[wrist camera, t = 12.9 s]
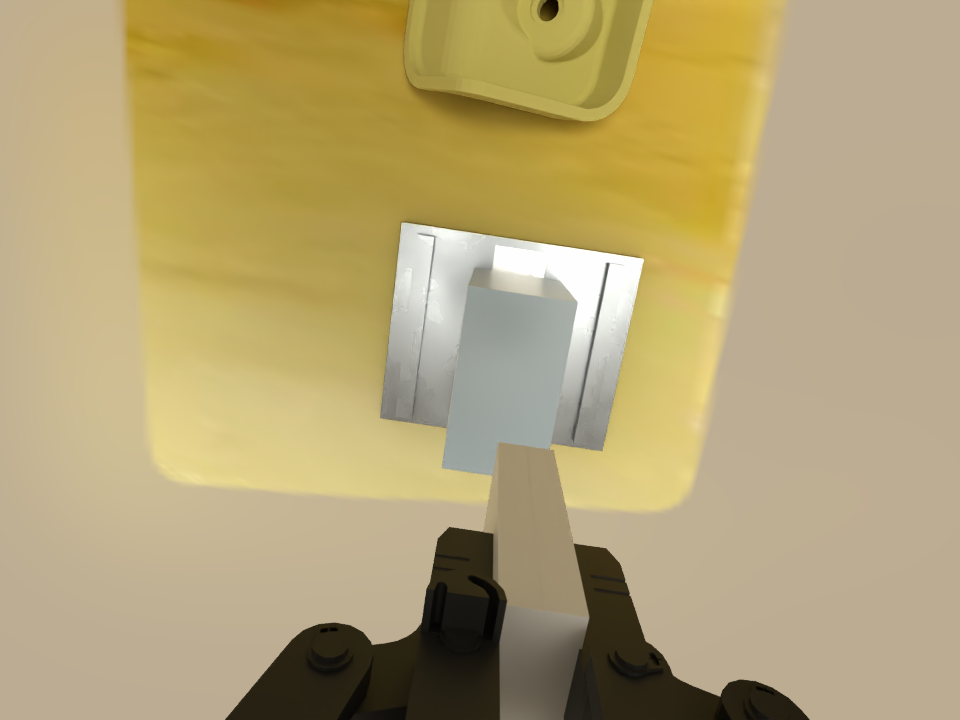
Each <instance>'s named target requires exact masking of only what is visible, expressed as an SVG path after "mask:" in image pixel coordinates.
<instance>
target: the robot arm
mask: <svg viewBox="0 0 960 720" xmlns="http://www.w3.org/2000/svg"><path fill="white" fill-rule="evenodd" d="M629 594H630V593H629V590H628V586H627V584H626V583H625V577H624V574H623V571H622V568H621V565H620V563H619V562H618V561H617V560H616V559H615V558H614V557H613V555H612V554H611V553H610V552H609V551H608V550H607V549H606V548H600V547H593V546H586V545H578V544H574V543H573V539H572V534H571V530H570V525H569V520H568V516H567V511H566V506H565V502H564V497H563V492H562V488H561V483H560V478H559V474H558V469H557V464H556V460H555V455H554V450H549V449H543V448H536V447H529V446H522V445H516V444H509V443H502V442H498V447H497V453H496V459H495V465H494V471H493V477H492V483H491V489H490V495H489V501H488V507H487V513H486V519H485V525H484V531H483V532H479V531H472V530H465V529H459V528H451V527H449V528H448V529H447V530H446V531H445V532H444V533H443V534H442V535H441V536H440V537H439V538H438V541H437V546H436V552H435V558H434V564H433V569H432V575H431V580H430V584H429V585H428V587H427V590H426V597H425V604H424V611H423V618H422V623H421V625H420V626H419V627H418V628H417V630H416V631H414V632H413V633H412V634H411V635H409V636H408V637H405V638H403V639H401V640H398V641H395V642H390V643H385V644H376V645H372V644H371V641H370V640H369V639H368V638H367V636H366V635H365V634H364V633H363V632H362V631H360V630H358V629H356V628H354V627H352V626H350V625H345V624H340V623H326V624H318V625H315V626H313V627H310V628H308V629H305V630H303V631H302V632H301V633H300V634H298V635H297V636H296V637H295V638H294V639H292V640H291V642H290V643H289V644H288V645H287V646H286V648H285V649H284V650H283V651H282V652H281V653H280V655H279V656H278V657H277V658H276V660H275V661H274V662H273V663H272V664H271V666H270V667H269V668H268V669H267V670H266V671H265V673H264V674H263V675H262V676H261V677H260V679H259V680H258V681H257V682H256V683H255V685H254V686H253V687H252V688H251V689H250V691H249V692H248V693H247V694H246V695H245V696H244V698H243V699H242V700H241V701H240V702H239V704H238V705H237V706H236V707H235V708H234V710H233V711H232V712H231V713H230V714H229V716H228V717H227V718H226V719H225V720H809V718H808V717H807V716H806V715H805V714H804V713H803V711H802V710H801V709H800V708H798V707H797V706H796V705H795V704H794V703H793V702H792V701H791V700H790V699H789V698H788V697H786V696H784V695H783V694H781V693H780V692H778V691H777V690H775V689H774V688H772V687H769V686H767V685H764V684H761V683H759V682H756V681H749V680H737V681H733V682H730V683H728V685H727V686H726V687H725V688H724V689H723V690H722V693H721V697H719V696H717V695H714V694H711V693H709V692H706V691H704V690H701V689H699V688H696V687H693V686H691V685H689V684H687V683H685V682H683V681H681V680H679V679H677V678H676V677H674V676H673V674H672V672H671V669H670V666H669V665H668V663H667V661H666V660H665V658H664V657H663V655H662V654H661V653H660V652H659V651H658V650H657V649H656V648H654V647H653V646H652V645H651V644H649V643H647V642H646V641H645V638H644V635H643V632H642V629H641V626H640V623H639V620H638V617H637V614H636V611H635V608H634V605H633V602H632V599H631V596H629Z"/></svg>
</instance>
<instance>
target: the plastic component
mask: <svg viewBox="0 0 960 720" xmlns="http://www.w3.org/2000/svg"><path fill="white" fill-rule="evenodd" d="M546 1H547V0H410V3H409V10H408V17H407V24H406V32H405V39H404V63H405V70H406V73H407V77H408V79H409V81H410V82H411V84H412V85H413V86H415V87H416V88H419V89H424V90H428V91H439V92H445V93H452V94H457V95H461V96H466V97H471V98H475V99H479V100H483V101H487V102H491V103H495V104H499V105H503V106H507V107H511V108H515V109H519V110H523V111H527V112H531V113H535V114H539V115H543V116H547V117H551V118H555V119H562V120H574V121H596V120H599V119H602V118H605V117H607V116H608V115H610V114H611V113H612V112H614V111H615V110H616V109H617V108H618V107H619V106H620V105H621V103H622V102H623V100H624V99H625V97H626V96H627V94H628V92H629V89H630V87H631V85H632V81H633V78H634V74H635V70H636V66H637V62H638V58H639V54H640V51H641V47H642V43H643V39H644V35H645V31H646V27H647V24H648V20H649V16H650V12H651V8H652V4H653V0H557V1H558V4H559V11H558V13H557V15H556V17H555V18H554V19H553V20H551V21H542V19H541V18H540V9H541V7H542V5H543V3H545V2H546Z"/></svg>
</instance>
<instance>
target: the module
mask: <svg viewBox="0 0 960 720" xmlns="http://www.w3.org/2000/svg"><path fill="white" fill-rule="evenodd" d="M577 306H578V302H577V300H576V299H575V298H574V297H573V296H572V294H571V293H570V292H569V291H568V289H567V288H566V287H565V286H564V285H563V283H562V282H561V281H560V280H554V279H548V278H541V277H534V276H528V275H521V274H515V273H508V272H502V271H495V270H489V269H482V268H474V271H473V274H472V276H471V279H470V282H469V284H468V290H467V297H466V304H465V311H464V314H463V320H462V327H461V334H460V341H459V348H458V355H457V362H456V369H455V376H454V383H453V390H452V397H451V404H450V411H449V418H448V425H447V432H446V434H447V436H446V443H445V450H444V457H443V464H442V468H445V469H451V470H458V471H465V472H471V473H478V474H485V475H491V476H493V471H494V465H495V459H496V453H497V447H498V442H502V443H509V444H516V445H522V446H529V447H536V448H543V449H549V450H550V446H551V441H552V435H553V430H554V425H555V420H556V415H557V409H558V404H559V399H560V394H561V389H562V383H563V378H564V373H565V368H566V363H567V357H568V352H569V347H570V342H571V337H572V332H573V326H574V321H575V316H576V311H577Z"/></svg>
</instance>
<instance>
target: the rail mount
mask: <svg viewBox="0 0 960 720" xmlns="http://www.w3.org/2000/svg"><path fill="white" fill-rule="evenodd" d="M643 261H644V259H642V258H639V257H632V256H625V255H619V254H612V253H606V252H599V251H592V250H586V249H579V248H573V247H566V246H560V245H553V244H546V243H540V242H533V241H527V240H520V239H514V238H507V237H500V236H494V235H487V234H481V233H474V232H468V231H461V230H454V229H448V228H441V227H435V226H428V225H421V224H415V223H408V222H402V226H401V235H400V244H399V253H398V262H397V271H396V280H395V289H394V298H393V307H392V316H391V325H390V334H389V343H388V352H387V361H386V370H385V379H384V388H383V398H382V407H381V416H380V418H383V419H390V420H397V421H404V422H410V423H417V424H424V425H430V426H437V427H444V428H447V425H448V418H449V411H450V404H451V397H452V390H453V383H454V376H455V369H456V362H457V355H458V348H459V341H460V334H461V327H462V320H463V314H464V311H465V304H466V297H467V290H468V284H469V282H470V279H471V276H472V274H473V271H474V268H482V269H489V270H495V271H502V272H508V273H515V274H521V275H528V276H534V277H541V278H548V279H554V280H560V281H561V282H562V283H563V285H564V286H565V287H566V288H567V289H568V291H569V292H570V293H571V294H572V296H573V297H574V298H575V299H576V300H577V302H578V306H577V311H576V316H575V321H574V326H573V332H572V337H571V342H570V347H569V352H568V357H567V363H566V368H565V373H564V378H563V383H562V389H561V394H560V399H559V404H558V409H557V415H556V420H555V425H554V430H553V435H552V441H551V444H558V445H565V446H571V447H578V448H585V449H591V450H598V451H602V450H603V446H604V441H605V437H606V432H607V427H608V423H609V418H610V413H611V409H612V404H613V400H614V395H615V390H616V386H617V381H618V376H619V372H620V367H621V363H622V358H623V353H624V349H625V344H626V339H627V335H628V330H629V326H630V321H631V316H632V312H633V307H634V302H635V298H636V293H637V289H638V284H639V279H640V275H641V270H642V265H643Z"/></svg>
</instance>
